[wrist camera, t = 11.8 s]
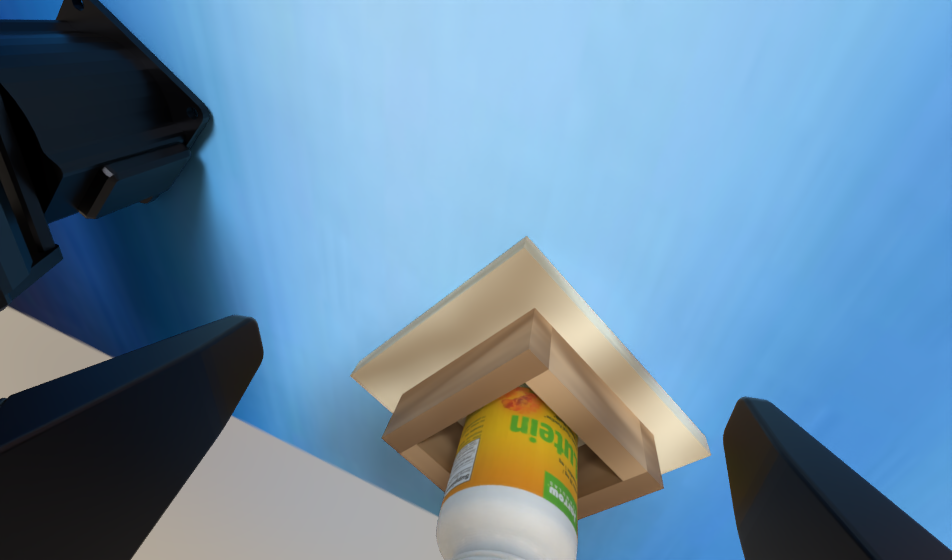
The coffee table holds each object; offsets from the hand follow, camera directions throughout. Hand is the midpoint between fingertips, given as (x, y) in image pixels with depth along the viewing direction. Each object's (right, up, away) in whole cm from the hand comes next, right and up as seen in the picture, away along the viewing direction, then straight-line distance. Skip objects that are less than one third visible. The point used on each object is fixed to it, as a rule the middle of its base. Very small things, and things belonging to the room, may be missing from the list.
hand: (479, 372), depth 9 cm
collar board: (+3, -4, +16) cm, 17 cm away
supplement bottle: (+2, -5, +15) cm, 16 cm away
